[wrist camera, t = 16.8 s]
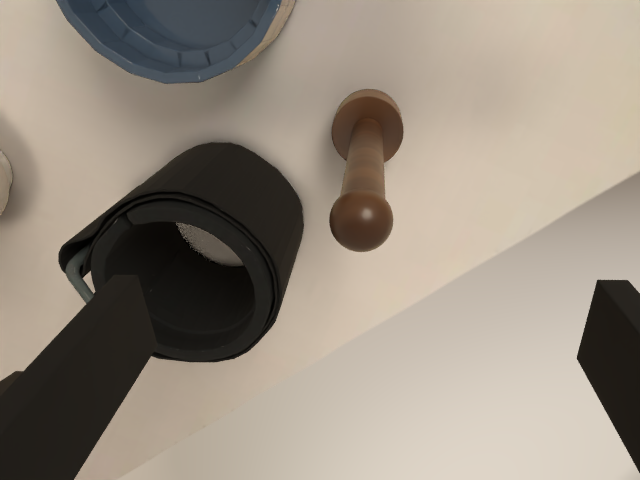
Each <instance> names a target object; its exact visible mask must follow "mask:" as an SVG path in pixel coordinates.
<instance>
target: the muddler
mask: <svg viewBox="0 0 640 480" xmlns="http://www.w3.org/2000/svg"><path fill="white" fill-rule="evenodd" d="M332 139H333V143H334V146H335V148H336V150H337V151H338V153H339V154H340V155H341V156H342V157H343V158H344V159H345V160H346V161H347V162H346V168H345V173H344V179H343V184H342V189H341V195H340V197H339V198H338V199H337V200H336V202H335V203H334V205H333V207H332V209H331V212H330V219H329V223H330V228H331V232H332V234H333V236H334V237H335V239H336V240H337V241H338V242H339V243H340V244H341V245H342V246H343V247H345V248H347V249H349V250H352V251H356V252H366V251H371V250H373V249H376V248H377V247H379V246H380V245H382V244H383V243H384V242H385V241H386V239H387V238H388V237H389V235H390V233H391V230H392V227H393V214H392V210H391V207H390V205H389V203H388V202H387V201H386V199H385V179H384V163H385V162H386V161H388V160H389V159H390V158H392V157H393V156H394V154H395V153H396V152H397V150H398V149H399V147H400V145H401V142H402V139H403V123H402V118H401V114H400V111H399V108H398V106H397V104H396V103H395V101H394V100H393V99H392V98H391V97H390V96H388V95H387V94H385V93H383V92H381V91H378V90H373V89H364V90H360V91H357V92H354V93H352V94H351V95H349V96H348V97H347V98H346V99H345V100H344V101H343V102H342V103H341V105H340V106H339V108H338V110H337V113H336V116H335V119H334V122H333V125H332Z"/></svg>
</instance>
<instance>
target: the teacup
mask: <svg viewBox="0 0 640 480" xmlns="http://www.w3.org/2000/svg"><path fill="white" fill-rule="evenodd" d="M12 179H13V175H12V169H11V166H10V163H9V161H8V159H7V158H6V156H5V155H4V154H3V152H2V151H1V150H0V215H1V214H2V212H3V211H4V209H5V207H6V204H7V202H8V197H9V188H10V186H11V184H12Z"/></svg>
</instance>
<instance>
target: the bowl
mask: <svg viewBox="0 0 640 480" xmlns="http://www.w3.org/2000/svg"><path fill="white" fill-rule="evenodd" d="M56 1H57V3H58V5H59V7H60V9H61V10H62V12H63V14H64V16H65V18H66V19H67V21H68V22H69V23H70V24H71V25H72V26H73V27H74V28H75V29H76V30H77V31H78V33H79V34H80V35H81V36H82V37H83V38H84V39H85V40H86V41H87V42H88V43H89V44H90V46H91V47H92V48H93V49H94V50H95V51H97V52H98V53H99V54H101V55H102V56H104V57H106V58H107V59H109V60H110V61H112V62H113V63H115V64H116V65H118V66H119V67H121V68H123V69H124V70H126V71H127V72H129V73H131V74H134V75H137V76H141V77H144V78H147V79H151V80H154V81H158V82H161V83H165V84H176V83H199V82H203V81H206V80H208V79H210V78H213V77H215V76H218V75H220V74H222V73H225V72H227V71H229V70H232V69H234V68H236V67H238V66H240V65H242V64H244V63H246V62H248V61H251V60H253V59H254V58H255V57H256V56H257V55H258V54H259V53H260V52H261V51H263V50H264V49H265V48H266V47H267V46H268V45H269V44H270V43H271V42H272V41H273V40H274V39H275V38H276V37H277V36H278V35H279V33H280V31H281V29H282V27H283V25H284V24H285V22H286V20H287V18H288V16H289V14H290V13H291V11H292V9H293V7H294V4H295V1H296V0H56Z"/></svg>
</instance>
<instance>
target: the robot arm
mask: <svg viewBox="0 0 640 480" xmlns="http://www.w3.org/2000/svg"><path fill="white" fill-rule="evenodd" d="M157 346H158V345H157V341H156V338H155V334H154V330H153V327H152V323H151V320H150V316H149V313H148V309H147V306H146V302H145V299H144V295H143V292H142V288H141V285H140V281H139V278H138V275H113V277H112V278H111V279H110V280H109V281H108V282H107V283H106V284H105V285H104V286H103V287H102V288H101V289H100V290H99V291H98V293H97V294H96V295H95V296H94V297H93V298H92V299H91V300H90V301H89V302H88V303H87V304H86V305H85V306H84V307H83V308H82V310H81V311H80V312H79V313H78V314H77V315H76V316H75V317H74V318H73V319H72V320H71V321H70V322H69V323H68V324H67V326H66V327H65V328H64V329H63V330H62V331H61V332H60V333H59V334H58V335H57V336H56V337H55V338H54V339H53V340H52V342H51V343H50V344H49V345H48V346H47V347H46V348H45V349H44V350H43V351H42V352H41V353H40V354H39V355H38V356H37V358H36V359H35V360H34V361H33V362H32V363H31V364H30V365H29V366H28V367H27V368H26V369H25V370H24V371H15V372H14V373H12V374H11V375H9V376H8V377H6V378H5V379H3V380H2V381H0V480H74V478H75V477H76V475H77V474H78V472H79V470H80V469H81V467H82V466H83V464H84V462H85V461H86V459H87V458H88V456H89V454H90V453H91V451H92V450H93V448H94V447H95V445H96V443H97V442H98V440H99V439H100V437H101V435H102V434H103V432H104V431H105V429H106V427H107V426H108V424H109V423H110V421H111V419H112V418H113V416H114V415H115V413H116V411H117V410H118V408H119V407H120V405H121V403H122V402H123V400H124V399H125V397H126V395H127V394H128V392H129V391H130V389H131V387H132V386H133V384H134V383H135V381H136V379H137V378H138V376H139V375H140V373H141V371H142V370H143V368H144V367H145V365H146V363H147V362H148V360H149V359H150V357H151V355H152V354H153V352H154V351H155V349H156V347H157ZM577 360H578V361H579V363H580V365H581V367H582V369H583V371H584V372H585V374H586V376H587V378H588V380H589V382H590V383H591V385H592V387H593V389H594V391H595V392H596V394H597V396H598V398H599V400H600V402H601V403H602V405H603V407H604V409H605V411H606V412H607V414H608V416H609V418H610V420H611V421H612V423H613V425H614V427H615V429H616V431H617V432H618V434H619V436H620V438H621V440H622V442H623V443H624V445H625V447H626V449H627V451H628V452H629V454H630V456H631V458H632V460H633V462H634V463H635V465H636V467H637V469H638V471H639V473H640V293H639V292H638V291H637V290H636V289H635V288H634V287H633V285H632V284H631V283H630V282H629V281H628V280H597V283H596V287H595V291H594V295H593V298H592V302H591V306H590V310H589V313H588V317H587V322H586V325H585V328H584V332H583V336H582V340H581V343H580V347H579V351H578V355H577Z"/></svg>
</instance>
